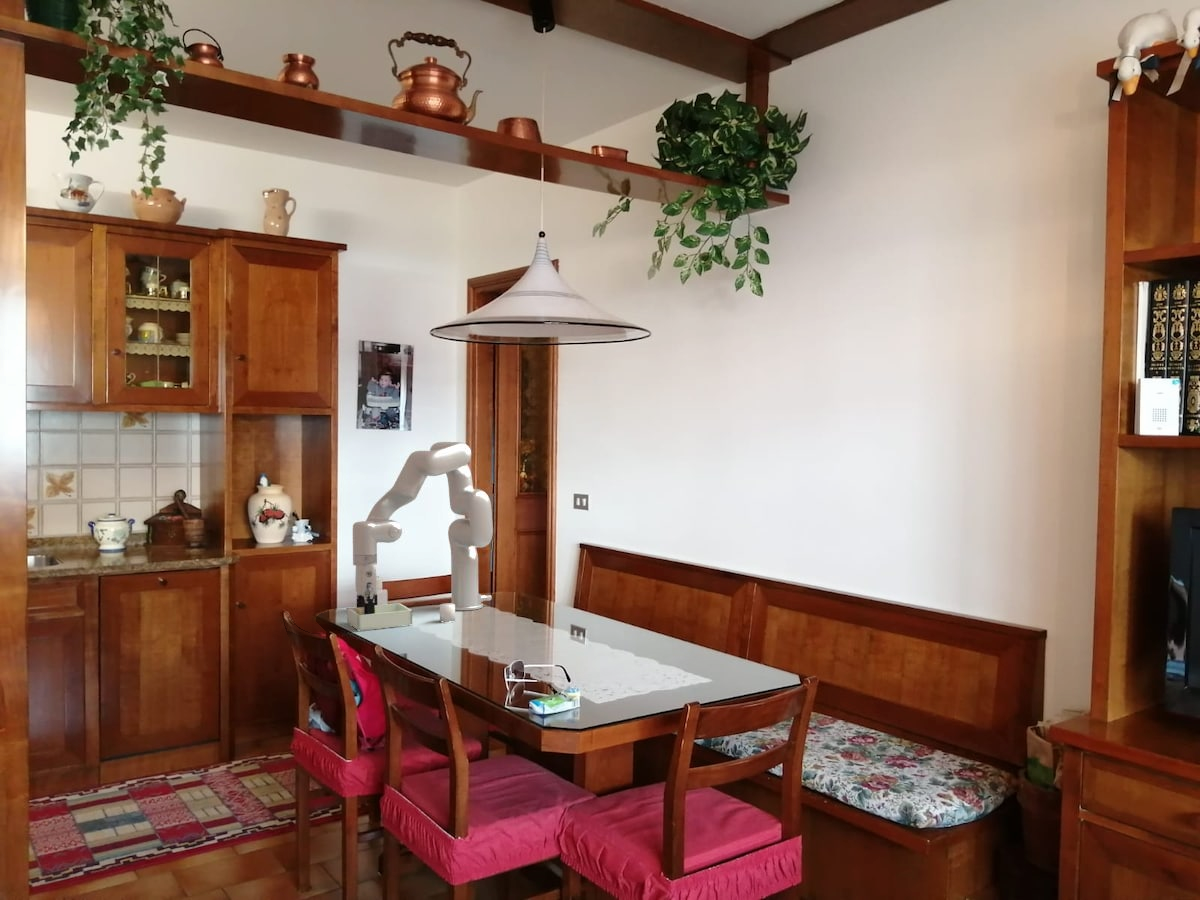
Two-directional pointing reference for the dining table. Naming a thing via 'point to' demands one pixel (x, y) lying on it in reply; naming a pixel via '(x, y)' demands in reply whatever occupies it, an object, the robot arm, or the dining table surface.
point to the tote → (380, 617)
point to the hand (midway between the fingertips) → (365, 612)
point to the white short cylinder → (447, 612)
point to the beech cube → (360, 610)
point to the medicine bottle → (380, 593)
